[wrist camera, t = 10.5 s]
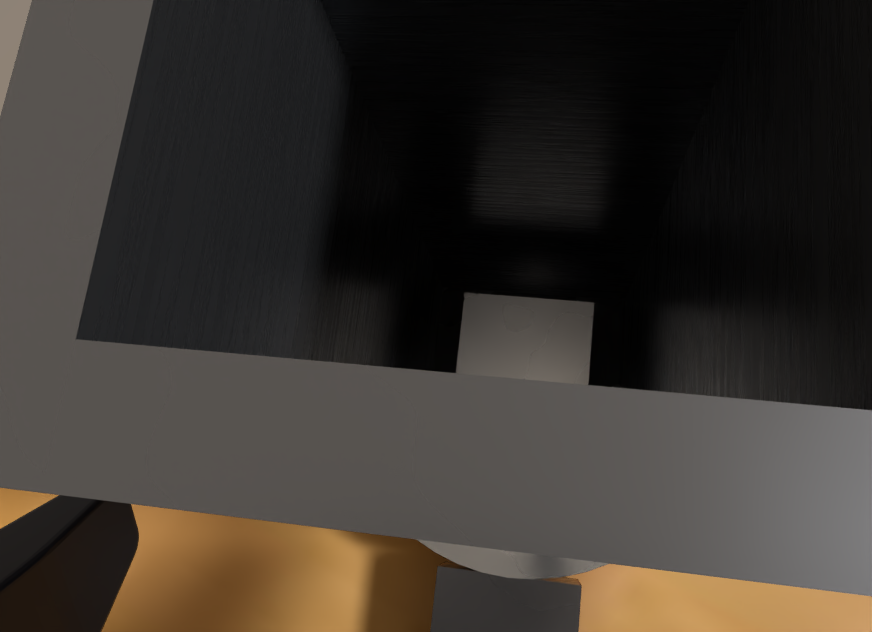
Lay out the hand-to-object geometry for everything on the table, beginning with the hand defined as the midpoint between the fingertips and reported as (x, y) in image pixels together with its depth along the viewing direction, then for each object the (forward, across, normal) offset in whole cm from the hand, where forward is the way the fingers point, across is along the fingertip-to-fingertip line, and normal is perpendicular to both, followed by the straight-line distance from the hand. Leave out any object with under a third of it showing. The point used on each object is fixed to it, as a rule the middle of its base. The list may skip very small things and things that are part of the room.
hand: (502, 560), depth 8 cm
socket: (+8, 0, +3) cm, 8 cm away
